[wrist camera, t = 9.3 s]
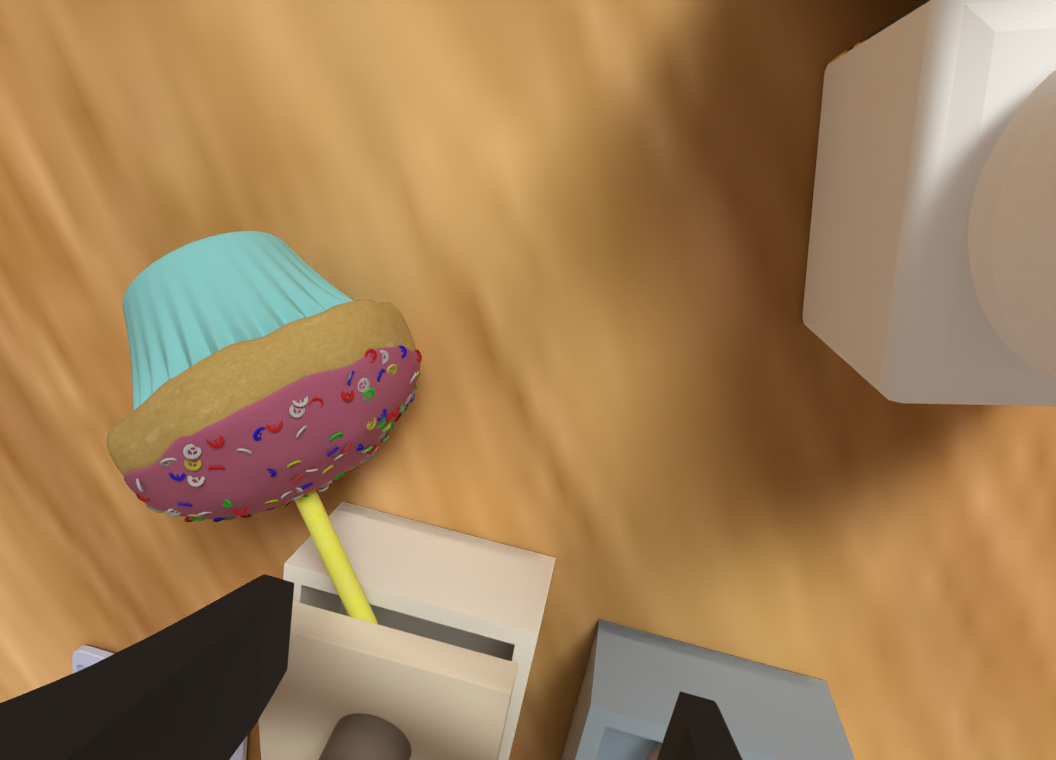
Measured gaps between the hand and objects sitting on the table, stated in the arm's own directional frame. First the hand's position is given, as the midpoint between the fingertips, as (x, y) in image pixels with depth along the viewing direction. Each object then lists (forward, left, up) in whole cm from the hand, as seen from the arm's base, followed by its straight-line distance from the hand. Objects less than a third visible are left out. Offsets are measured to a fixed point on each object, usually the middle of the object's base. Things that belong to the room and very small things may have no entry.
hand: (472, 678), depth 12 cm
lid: (-8, +3, -6) cm, 10 cm away
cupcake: (+4, +11, -8) cm, 14 cm away
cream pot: (-8, +3, -10) cm, 13 cm away
